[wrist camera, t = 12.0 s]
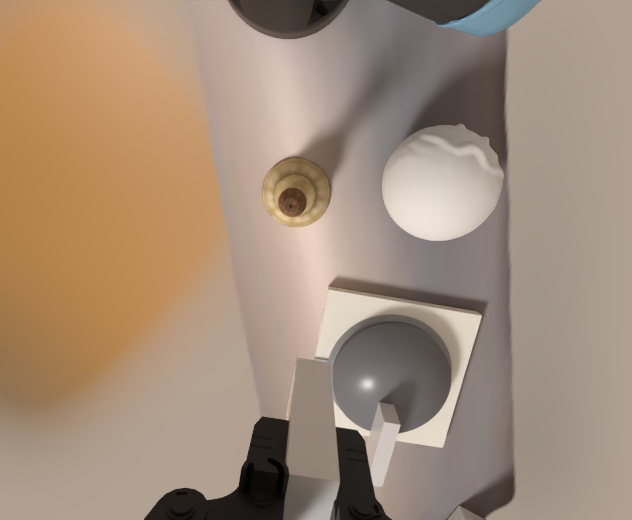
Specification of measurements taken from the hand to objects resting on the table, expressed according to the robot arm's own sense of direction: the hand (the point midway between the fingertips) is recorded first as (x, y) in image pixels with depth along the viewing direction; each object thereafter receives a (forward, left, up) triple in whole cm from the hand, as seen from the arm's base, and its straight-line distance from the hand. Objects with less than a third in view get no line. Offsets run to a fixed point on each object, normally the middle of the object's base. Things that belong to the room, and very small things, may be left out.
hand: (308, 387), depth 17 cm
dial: (+17, +13, -31) cm, 37 cm away
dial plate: (+15, +13, -32) cm, 38 cm away
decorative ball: (-10, +12, -33) cm, 36 cm away
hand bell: (-6, -3, -33) cm, 33 cm away
